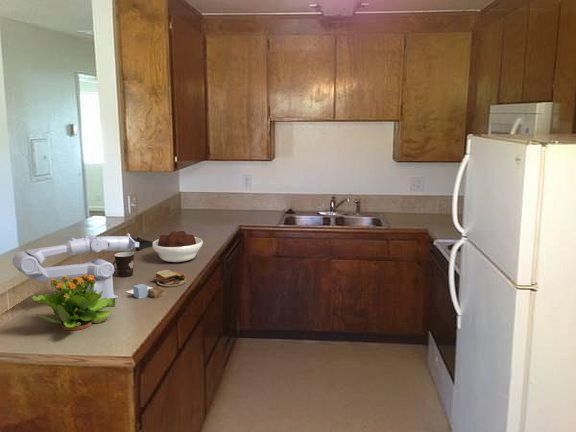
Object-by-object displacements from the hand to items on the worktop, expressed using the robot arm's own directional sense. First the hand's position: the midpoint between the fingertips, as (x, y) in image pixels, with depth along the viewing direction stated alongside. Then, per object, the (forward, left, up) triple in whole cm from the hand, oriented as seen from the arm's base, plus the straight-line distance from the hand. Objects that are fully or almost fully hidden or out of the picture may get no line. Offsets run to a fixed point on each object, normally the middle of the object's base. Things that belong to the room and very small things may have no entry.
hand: (148, 243), depth 220 cm
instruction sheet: (-5, 0, -19) cm, 20 cm away
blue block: (-9, -7, -19) cm, 22 cm away
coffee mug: (0, +24, -20) cm, 31 cm away
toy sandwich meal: (+9, -1, -20) cm, 22 cm away
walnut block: (-4, -11, -20) cm, 23 cm away
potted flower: (-41, -18, -20) cm, 49 cm away
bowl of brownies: (+34, +29, -20) cm, 48 cm away
